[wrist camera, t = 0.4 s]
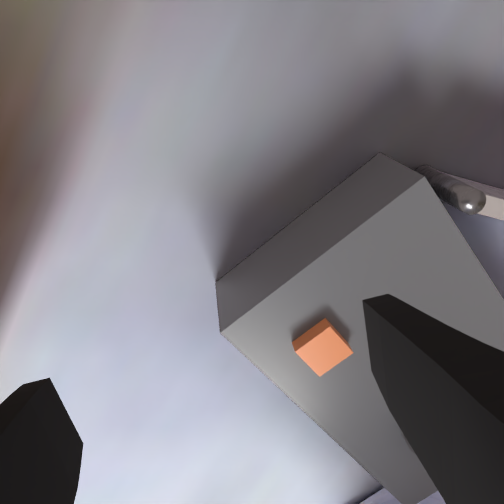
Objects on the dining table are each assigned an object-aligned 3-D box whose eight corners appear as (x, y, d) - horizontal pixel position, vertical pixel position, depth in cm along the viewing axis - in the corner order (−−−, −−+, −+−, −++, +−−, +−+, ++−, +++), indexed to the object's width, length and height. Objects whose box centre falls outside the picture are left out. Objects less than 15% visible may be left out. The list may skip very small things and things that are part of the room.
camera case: (515, 353, 24) (584, 417, 20) (377, 444, 26) (414, 523, 21) (380, 152, 19) (434, 181, 14) (215, 282, 20) (221, 344, 16)
